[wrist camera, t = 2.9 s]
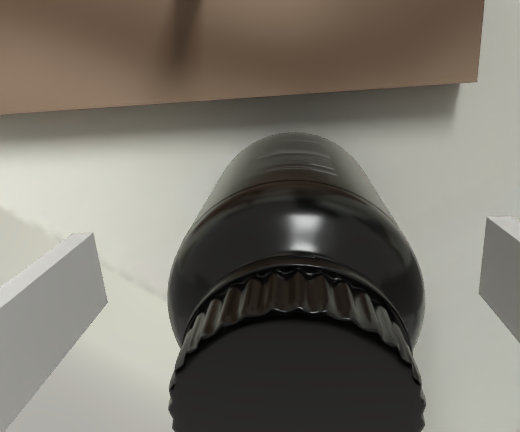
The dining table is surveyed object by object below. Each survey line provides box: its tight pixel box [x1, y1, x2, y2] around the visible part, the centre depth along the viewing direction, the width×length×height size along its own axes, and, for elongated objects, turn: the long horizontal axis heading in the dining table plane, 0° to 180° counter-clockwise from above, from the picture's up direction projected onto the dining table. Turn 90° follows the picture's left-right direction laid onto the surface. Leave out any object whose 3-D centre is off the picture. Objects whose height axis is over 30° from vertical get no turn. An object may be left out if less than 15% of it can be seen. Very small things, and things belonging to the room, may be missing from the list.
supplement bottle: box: [167, 132, 426, 432], centre depth 13 cm, size 7×7×12 cm
